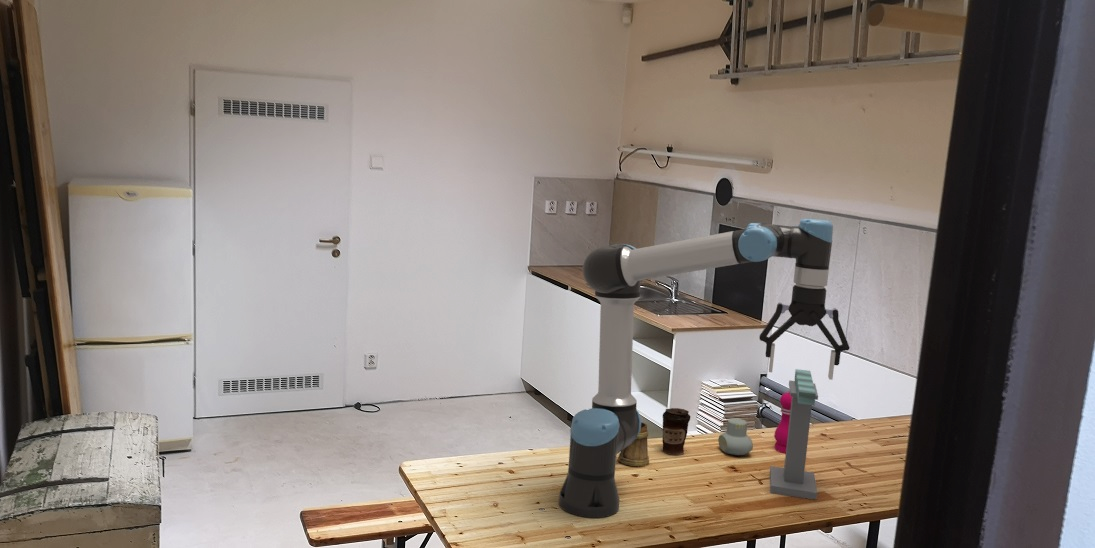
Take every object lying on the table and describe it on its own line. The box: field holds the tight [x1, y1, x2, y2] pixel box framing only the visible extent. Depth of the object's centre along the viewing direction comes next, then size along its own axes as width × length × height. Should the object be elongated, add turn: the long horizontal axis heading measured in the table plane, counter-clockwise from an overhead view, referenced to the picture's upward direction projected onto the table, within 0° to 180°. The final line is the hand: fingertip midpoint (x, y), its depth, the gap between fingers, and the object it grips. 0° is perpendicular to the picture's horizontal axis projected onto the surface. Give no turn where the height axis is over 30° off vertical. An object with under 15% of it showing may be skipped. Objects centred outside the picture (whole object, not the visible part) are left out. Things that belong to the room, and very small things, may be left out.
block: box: [794, 368, 816, 406], centre depth 225 cm, size 26×4×3 cm, turn 165°
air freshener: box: [717, 418, 754, 456], centre depth 256 cm, size 11×8×10 cm
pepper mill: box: [773, 388, 792, 454], centre depth 261 cm, size 7×7×20 cm
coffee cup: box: [662, 407, 691, 456], centre depth 252 cm, size 9×8×13 cm
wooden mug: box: [617, 421, 650, 468], centre depth 241 cm, size 9×14×18 cm, turn 117°
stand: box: [769, 379, 819, 501], centre depth 230 cm, size 16×12×28 cm
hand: (800, 374), depth 197 cm, fingers open, 13 cm apart
